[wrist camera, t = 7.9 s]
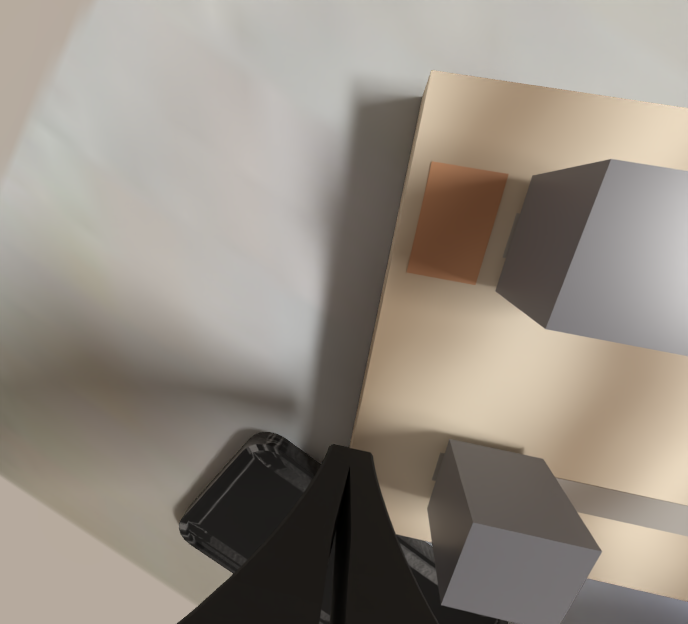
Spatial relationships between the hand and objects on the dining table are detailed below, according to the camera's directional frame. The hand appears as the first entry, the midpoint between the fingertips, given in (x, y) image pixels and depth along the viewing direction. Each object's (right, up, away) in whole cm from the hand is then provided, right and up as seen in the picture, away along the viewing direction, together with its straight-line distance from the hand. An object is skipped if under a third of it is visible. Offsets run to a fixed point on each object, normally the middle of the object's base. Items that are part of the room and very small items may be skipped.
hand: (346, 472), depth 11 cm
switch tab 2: (+5, -1, 0) cm, 5 cm away
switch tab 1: (+6, +7, -2) cm, 9 cm away
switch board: (+9, +3, +1) cm, 10 cm away
